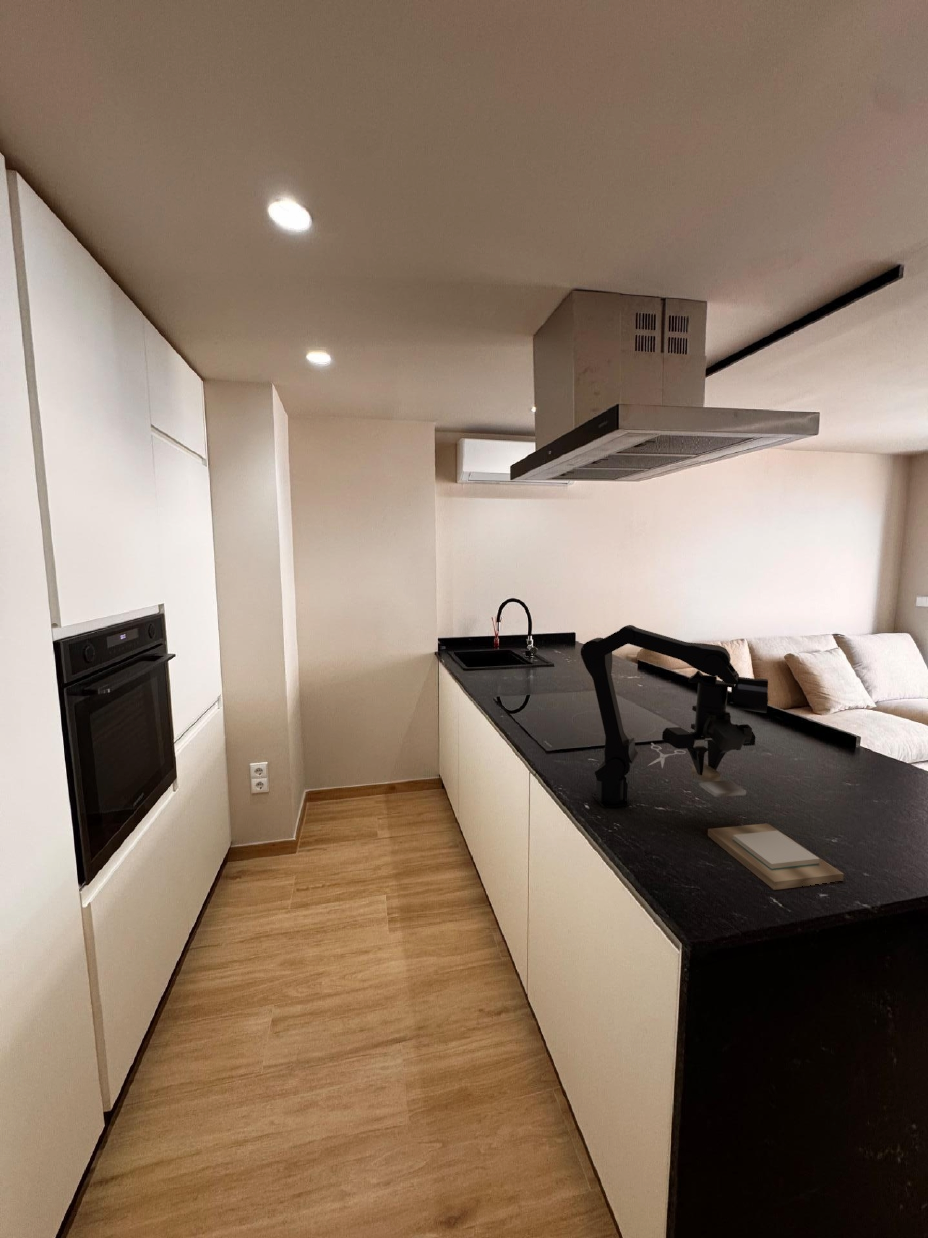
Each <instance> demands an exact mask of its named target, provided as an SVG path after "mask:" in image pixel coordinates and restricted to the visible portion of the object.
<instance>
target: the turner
mask: <svg viewBox="0 0 928 1238" xmlns="http://www.w3.org/2000/svg"><path fill="white" fill-rule="evenodd" d="M691 768H692V769H691V774H692V775H694V776H695V777H697V778H698V779H699V780H701V781H700V782H699V787H700V788H702V789H704V790H705V791H706V792H708V793H709V794H710V795H712V796H713V797H714V798H716V797H735V796H746V795H747V790H746V789H744V788H743V787H741V786H739V785H738V784H736V783H735V782H733V781H732V780H729V779H728V780H721V778H722V777H721V775H722V773H721V772H720V771H718V770H717V769H716V770H715V769H713V768H711V767H710V766H708V763H705V762H704V765H703V773H702V775H699V774H698V773H697V771H696V768H695V766H694V763H693V762H692V767H691Z"/></svg>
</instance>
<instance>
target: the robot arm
mask: <svg viewBox="0 0 928 1238" xmlns="http://www.w3.org/2000/svg"><path fill="white" fill-rule="evenodd" d="M627 645H631V646H635V647H637V648H641V649H644V650H647V651H651V652H654V653H658V654H661V655H664V656H667V657H670V658H673V659H677V660H679V661H682V662H684V663H686V664H687V665H689V666H691V668H693V669H696V670H697V671H696V672H695V673H694V674H692V675H690V677H689V679H688V682H689V683H693V684H697V694H696V705H692V706H691V707H692V710H691V711H693V712H695V719H694V723H691V724H690V729H691V730H693V731H688V730H686V729H685V728H682V727H681V726H677V727H676V726H675V727H665V728H664V730H663V731H662V736H661V737H662V738H661V740H662V741H663V742H665V743H667V744H668V745H670V746H672V747H673V748H675V749H677V750H683V749H687V751H688V752H689V755H690V757H691V760H692V764H693V763H694V766H695V768H696V771H697V773H698V774H699V775H702V773H703V765H704V763H705V754H706V753H707V765H708V766H710V767H711V768H713V769H715V770H716V771H717V769H718V767H719V765H720V764H721V761H722V759H723V758H724V757H725V755H726V754H727V753H729V752H730V751H732V750H733V751H734V750H736V751H741V750H742V747H749V746H755V745H756V738H757V737H756V734H755V733H754V731H753V728H752V727H751V725H749V724H747V723H746V724H745V723H744V724H737V723H736V724H735V723H733V722H732V721H731V717H732V715H731V712H728V711H727V702H728V689H729V688H731V690H730V699H729V700H730V701H729V703H730V704H732V706H733V707H734V706H735V709H738V710H744V711H751V712H758V713H764V714H767V712H768V705H769V693H768V689H769V680H768V679H767V678H752V677H742V676H740V675H739V673H738V670H736V669H735V667H734V665H732V663H731V661H732V660H731V654H730V653H729V651H728V649H727V648H725V647H724V646H722V645H718V644H710V643H700V642H689V641H688V642H687V641H684V640H680V639H677V638H673V637H669V636H666V635H662V634H660V633H657V632H652V631H650V630H646V629H642V628H639V627H636V625H633V624H628V625H625V626H623V627H621V628H620V629H619V630H617V631H615V632H613V633H611V634H609V635H608V636H606V637H604V638H603V637H594V638H592V639H590V640H588V641H586V642H584V644H582V646H581V649H580V656H581V659H582V662H583V664H584V667H585V669H586V671H587V672H588V673H589V675H590V677H591V679H592V681H593V686H594V690H595V695H596V698H597V704H598V709H599V712H600V717H601V723H602V727H603V731H604V737H605V738H604V739H605V742H604V751H603V754H604V755H603V756H604V760H603V761H602V762H601V764H600V765H599V766H598V767H597V769H596V770H595V771H594V774H595V779H596V780H595V782H596V783H595V793H592V797H593V798H594V799H595V800H596V801H597V802H598V803H599V805H601V806H602V807H603V808H606V809H607V808H618V807H629V806H630V802H628V796H629V795H628V794H629V793H628V792H629V783H628V782H627V777H626V775H628V773H629V772H630V771H631V770H632V767H633V766H634V765H635V763H636V760H637V756H638V755H639V753H638V751H637V749H636V740H635V738H634V737H633V738H628V736H627V735H626V733H625V731H624V726H623V720H622V717H621V713H620V707H619V704H618V699H617V694H616V690H615V686H614V682H613V681H614V680H613V676H612V675H613V674H612V668H613V652H614V651H616V650H618V649H620V648H622V647H624V646H627ZM705 742H707V747H706V746H705Z"/></svg>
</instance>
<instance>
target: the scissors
mask: <svg viewBox="0 0 928 1238" xmlns="http://www.w3.org/2000/svg"><path fill="white" fill-rule="evenodd" d="M650 744H651V746H650V748H651V750H654V751H656V753H658V754H659V757H658V758H656V759H655V760H653V761H652V762H651V763H649V764H648V765H647V767H649V766H651V765H654V764H655V763H657V762H660V766H661V769H664V765H665V761H666V759H667V758H668V757H671V756H675V755H685V754H686V753H687V751H686V750H683V749H676V750H673V752H674V753H670V754H669V753H668V754H664V753H662V752H661V750H662V749H663V748H662V747H661V746H659V745H656V744H654V743H653V742H651V743H650Z"/></svg>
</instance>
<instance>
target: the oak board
mask: <svg viewBox="0 0 928 1238" xmlns="http://www.w3.org/2000/svg"><path fill="white" fill-rule="evenodd" d="M768 831H779V832H780V833H782V834H783V835H785V836H786V837H788V836H787V835H786V834H785V833H783V832H781V831H780V830H778V829H777V828H775V827H774V826H772V825H771V824H769V823H767V822H766V823H757V824H746V825H736V826H724V827H714V828H708V829H707V837H709V838H710V839H711V840H712V841H714V843H716V844H717V845H718V846H719V847H721V848H722V849H723V850H725V851H726V852H727V853H728V854H729V855H730V856H731V857H733V858H734V859H736V861H737V862H739V863H740V864H741V865H742V866H744V867H746V869H748V870H749V871H750V872H752V873H753V874H754V875H755V876H756V877H757V878H759V879H760V880H761V881H762V882H764V883H765V884H766V885H767V886H769V888H771V889H772V890H773V891H776V890H785V889H793V888H802V886H803V887H810V885H811V886H816V885H815V884H819V885H823V884H822V883H827V884H831V883H830V882H835V881H843V882H844V873H843V872H842V871H840V870H839V869H837V868H836V867H834V866H832V865H831V864H829V863H828V862H826V861H825V860H824V859H822V858H821V857H819V856H818V855H816V854H814V853H813V852H812V851H810V850H808V849H807V848H806V847H804V846H803V845H801V844H800V843H798V842H796V840H793V839H792V838H790V837H788V838H789V839H791V840H792V841H794V842H795V843H797V844H798V845H800V846H801V847H803V848H804V849H806V850H807V851H809V852H810V853H812V854H813V855H815V856H816V857H818V858H819V865H812V866H804V867H795V868H786V869H777V870H770V869H769V868H768V867H766V866H765V865H764V864H762V863H761V862H760V861H759V860H757V859H756V858H755V857H753V856H752V855H751V854H749V853H748V852H747V851H746V850H744V849H743V848H742V847H740V846H739V845H738V844H737V843H735V842H734V841H733V835H738V834H748V833H758V832H768ZM835 883H836V882H835Z"/></svg>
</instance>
